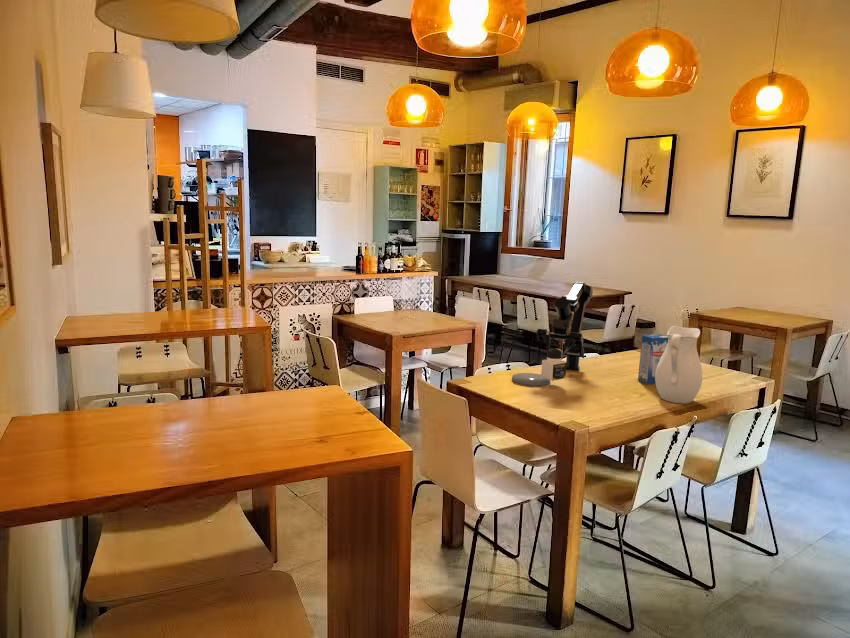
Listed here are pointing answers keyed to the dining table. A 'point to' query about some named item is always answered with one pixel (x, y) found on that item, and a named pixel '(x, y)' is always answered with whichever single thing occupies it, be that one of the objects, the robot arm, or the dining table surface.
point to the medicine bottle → (554, 365)
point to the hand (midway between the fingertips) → (554, 353)
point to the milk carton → (651, 356)
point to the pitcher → (679, 366)
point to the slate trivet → (530, 379)
